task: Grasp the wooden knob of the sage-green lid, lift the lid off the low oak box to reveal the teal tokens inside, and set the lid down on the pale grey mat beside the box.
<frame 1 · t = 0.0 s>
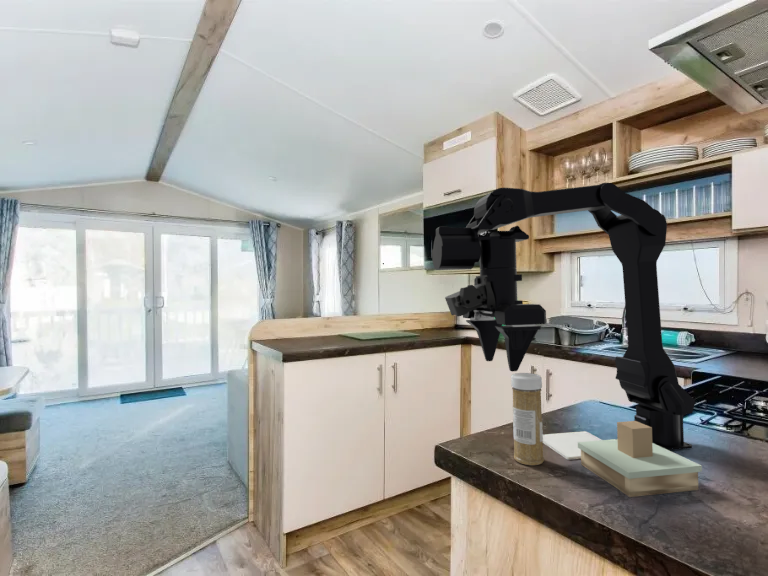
hand: (500, 365, 66), 15 cm above the countertop, tool pointing down, fingers open, 9 cm apart
mat: (577, 445, 69), on the countertop
lid: (635, 458, 58), point 2 cm above the countertop, touching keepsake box
sprinkles bottle: (528, 461, 64), on the countertop
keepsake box: (635, 476, 58), on the countertop
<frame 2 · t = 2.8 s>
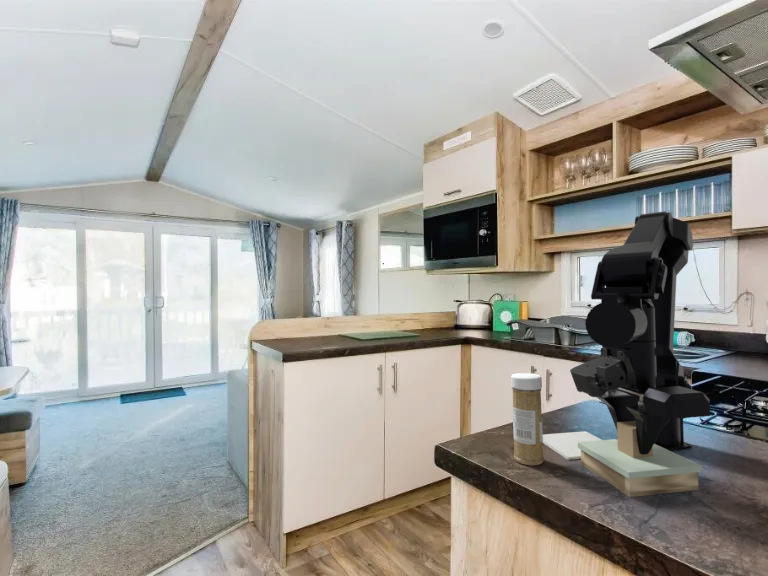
hand: (634, 449, 58), 4 cm above the countertop, tool pointing down, fingers closed on lid, 3 cm apart
lid: (635, 458, 58), point 2 cm above the countertop, touching gripper, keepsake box
everything else where it was.
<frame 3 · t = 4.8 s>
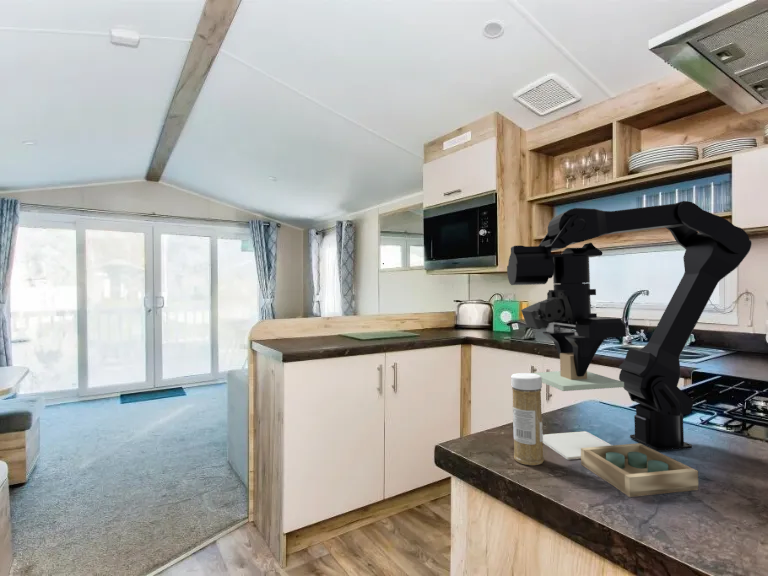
hand: (574, 374, 70), 12 cm above the countertop, tool pointing down, fingers closed on lid, 3 cm apart
lid: (573, 381, 70), point 11 cm above the countertop, touching gripper
everything else where it was.
when the fingers open (3 cm above the countertop, at t = 6.6 s): lid drops 2 cm, resting on mat.
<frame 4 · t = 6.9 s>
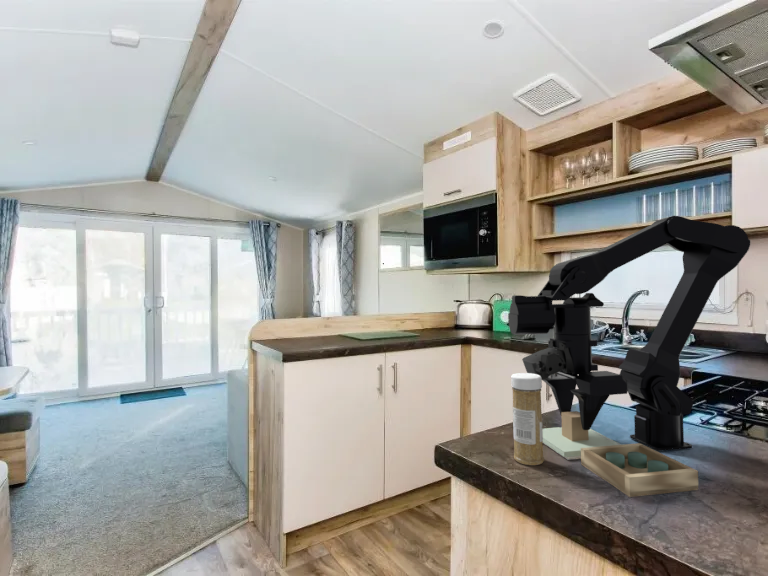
hand: (575, 424, 70), 3 cm above the countertop, tool pointing down, fingers open, 6 cm apart
lid: (575, 442, 70), resting on mat
everything else where it was.
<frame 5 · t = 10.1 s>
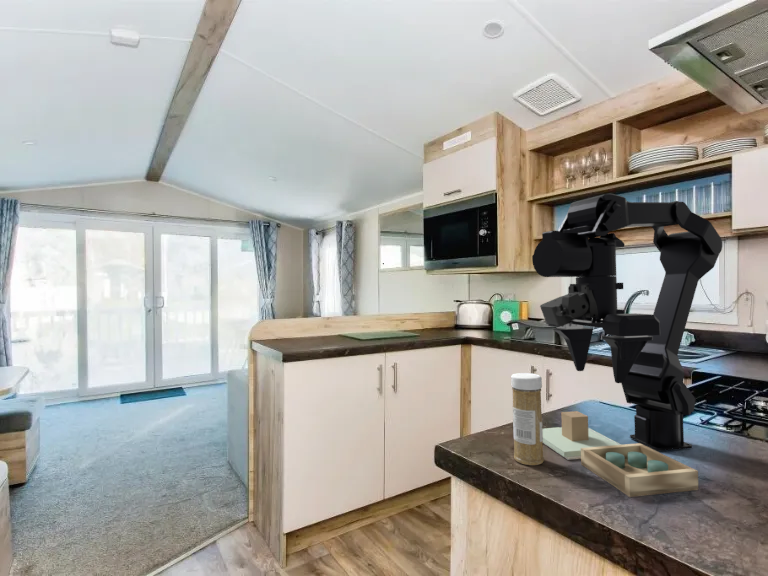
hand: (598, 376, 64), 13 cm above the countertop, tool pointing down, fingers open, 9 cm apart
nothing on the countertop moved.
at the end: lid inside the target area (0.1 cm from its centre), resting on mat; lid touching mat; the gripper is holding nothing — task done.
